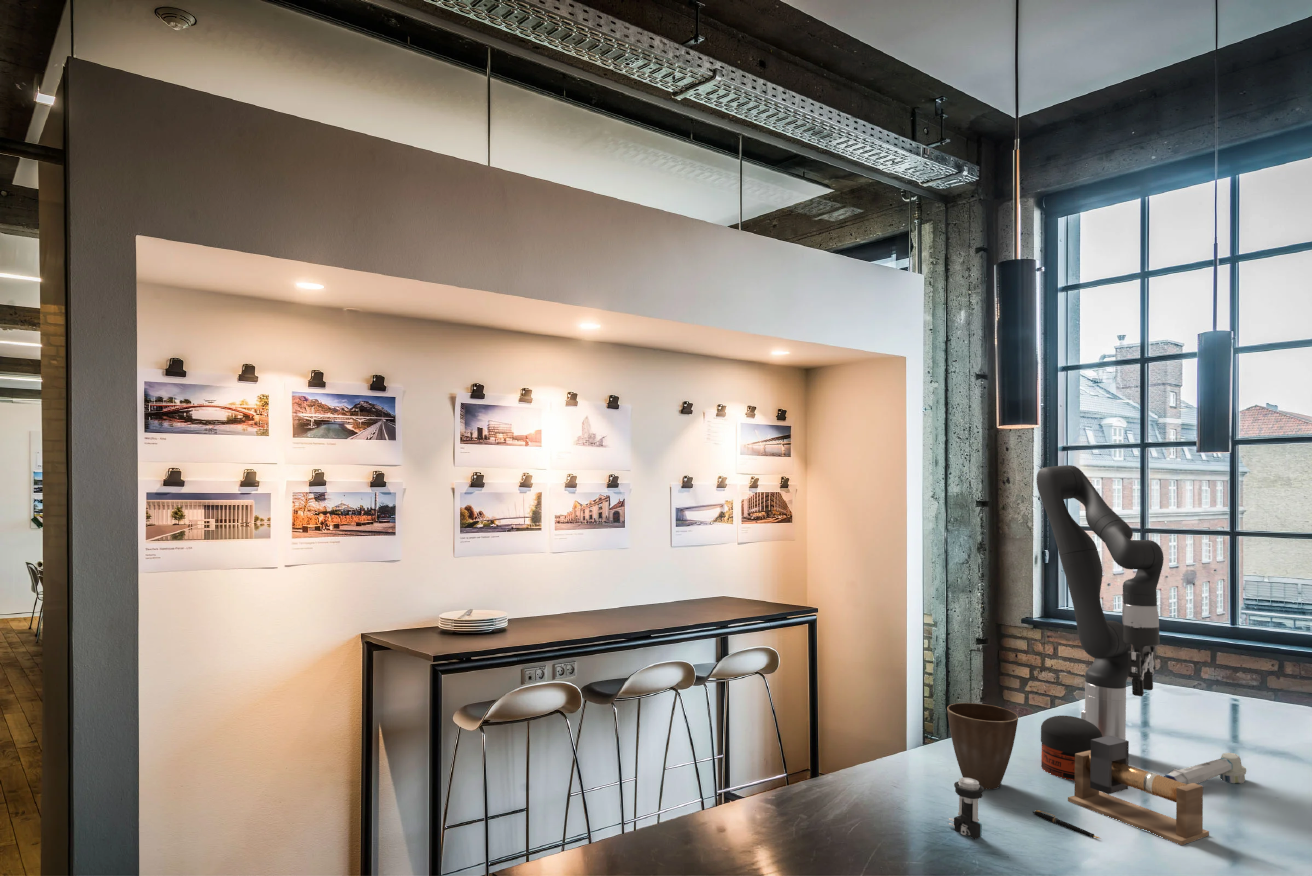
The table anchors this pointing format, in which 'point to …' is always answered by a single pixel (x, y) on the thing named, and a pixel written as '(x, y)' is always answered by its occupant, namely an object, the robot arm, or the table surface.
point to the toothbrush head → (1212, 771)
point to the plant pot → (982, 740)
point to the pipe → (1142, 780)
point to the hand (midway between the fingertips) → (1142, 692)
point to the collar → (1107, 763)
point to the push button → (968, 807)
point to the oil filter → (1065, 743)
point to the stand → (1175, 830)
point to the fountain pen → (1062, 823)
